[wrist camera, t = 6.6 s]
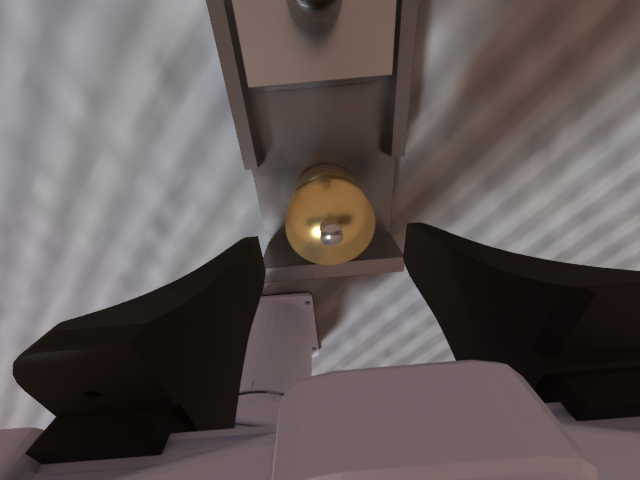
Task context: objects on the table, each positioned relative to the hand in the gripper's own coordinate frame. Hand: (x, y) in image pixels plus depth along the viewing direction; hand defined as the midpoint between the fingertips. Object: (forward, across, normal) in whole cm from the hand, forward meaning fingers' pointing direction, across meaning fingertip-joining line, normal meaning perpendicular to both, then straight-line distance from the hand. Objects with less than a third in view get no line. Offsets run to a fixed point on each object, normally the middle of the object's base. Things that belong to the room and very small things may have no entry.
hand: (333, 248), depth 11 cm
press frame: (+8, 0, -3) cm, 8 cm away
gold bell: (+7, 0, 0) cm, 7 cm away
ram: (+7, 0, -9) cm, 11 cm away
